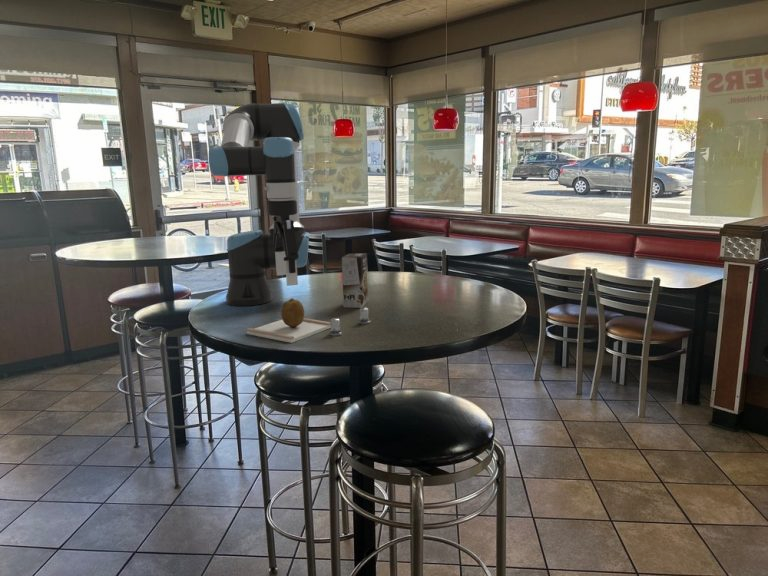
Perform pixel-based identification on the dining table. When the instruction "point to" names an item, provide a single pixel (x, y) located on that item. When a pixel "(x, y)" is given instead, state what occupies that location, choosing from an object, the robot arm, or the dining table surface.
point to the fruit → (292, 313)
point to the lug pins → (336, 322)
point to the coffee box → (355, 280)
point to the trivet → (290, 330)
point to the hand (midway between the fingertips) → (286, 279)
